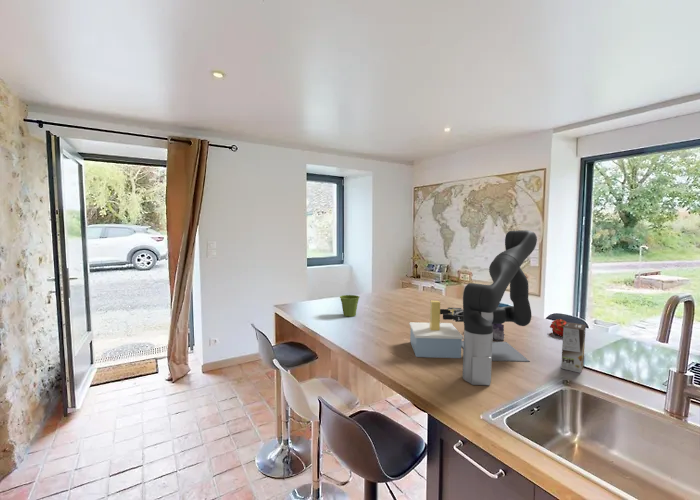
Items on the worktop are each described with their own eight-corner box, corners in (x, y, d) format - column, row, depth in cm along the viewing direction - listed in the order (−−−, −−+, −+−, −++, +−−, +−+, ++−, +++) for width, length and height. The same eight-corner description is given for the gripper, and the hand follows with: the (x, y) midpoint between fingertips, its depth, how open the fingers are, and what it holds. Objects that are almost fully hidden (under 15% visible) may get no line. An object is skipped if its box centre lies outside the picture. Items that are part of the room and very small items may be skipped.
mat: (529, 361, 133) (529, 360, 133) (472, 360, 134) (472, 359, 134) (506, 342, 155) (506, 341, 155) (457, 341, 156) (457, 340, 156)
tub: (461, 358, 136) (461, 338, 135) (416, 356, 137) (416, 337, 136) (449, 342, 154) (450, 325, 153) (410, 341, 155) (410, 324, 154)
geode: (513, 339, 160) (513, 319, 158) (495, 345, 155) (494, 325, 154) (482, 326, 178) (481, 308, 177) (464, 331, 174) (463, 312, 172)
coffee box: (581, 373, 122) (583, 330, 121) (560, 368, 126) (562, 326, 125) (583, 365, 130) (586, 324, 128) (564, 361, 134) (566, 321, 132)
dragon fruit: (553, 334, 173) (570, 345, 161) (541, 325, 171) (558, 336, 160) (564, 321, 172) (582, 332, 160) (553, 312, 170) (570, 322, 159)
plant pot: (363, 314, 202) (363, 296, 201) (352, 319, 192) (352, 299, 191) (346, 311, 208) (346, 293, 207) (335, 316, 198) (335, 297, 197)
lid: (463, 339, 135) (464, 307, 134) (415, 338, 136) (416, 306, 135) (451, 325, 154) (452, 297, 153) (409, 324, 155) (409, 296, 154)
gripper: (474, 302, 150) (437, 301, 151) (485, 310, 136) (444, 309, 137) (473, 319, 151) (437, 318, 151) (484, 328, 136) (444, 327, 137)
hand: (440, 314), depth 144 cm, fingers open, 8 cm apart
